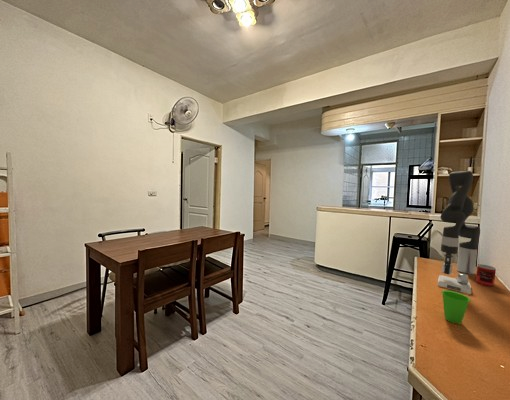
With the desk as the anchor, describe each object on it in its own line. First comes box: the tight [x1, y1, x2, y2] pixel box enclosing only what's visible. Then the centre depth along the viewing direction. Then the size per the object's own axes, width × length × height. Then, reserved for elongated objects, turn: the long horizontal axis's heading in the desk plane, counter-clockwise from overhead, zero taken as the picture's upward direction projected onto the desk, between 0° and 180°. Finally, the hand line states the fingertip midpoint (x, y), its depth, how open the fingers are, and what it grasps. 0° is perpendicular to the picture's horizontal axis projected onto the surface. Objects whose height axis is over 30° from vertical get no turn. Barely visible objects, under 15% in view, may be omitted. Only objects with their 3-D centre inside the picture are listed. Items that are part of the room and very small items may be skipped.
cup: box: [441, 289, 471, 325], centre depth 91 cm, size 9×9×11 cm
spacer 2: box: [456, 272, 469, 285], centre depth 125 cm, size 4×4×5 cm
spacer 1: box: [441, 263, 453, 276], centre depth 130 cm, size 4×4×5 cm
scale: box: [437, 274, 472, 295], centre depth 127 cm, size 15×14×3 cm
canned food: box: [475, 263, 497, 288], centre depth 133 cm, size 8×8×11 cm
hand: (446, 272), depth 130 cm, fingers closed on spacer 1, 4 cm apart
